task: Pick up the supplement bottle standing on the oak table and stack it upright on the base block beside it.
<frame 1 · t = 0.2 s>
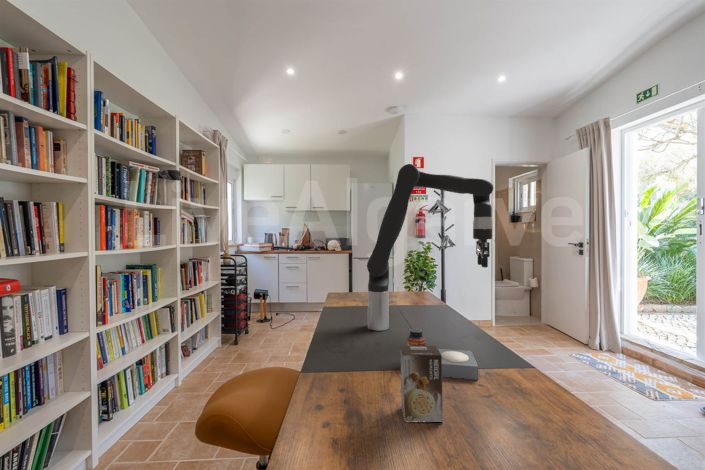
hand: (482, 266, 131), 29 cm above the table, tool pointing down, fingers open, 8 cm apart
base block: (454, 369, 99), on the table
coffee box: (421, 416, 75), on the table
supplement bottle: (416, 364, 104), on the table
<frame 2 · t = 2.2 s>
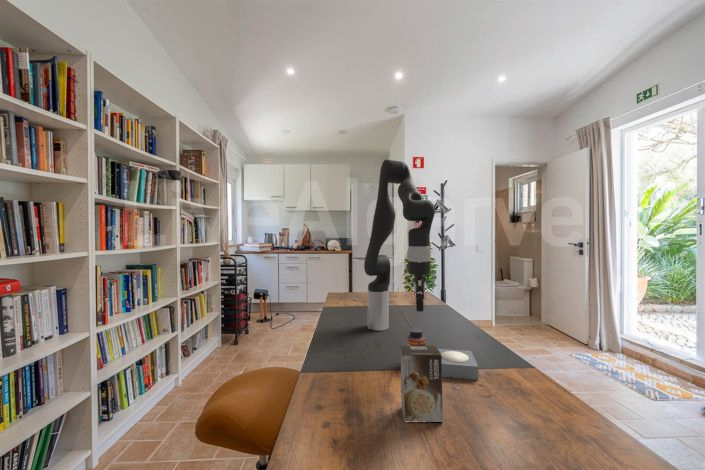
hand: (419, 307, 104), 19 cm above the table, tool pointing down, fingers open, 8 cm apart
nothing on the table moved.
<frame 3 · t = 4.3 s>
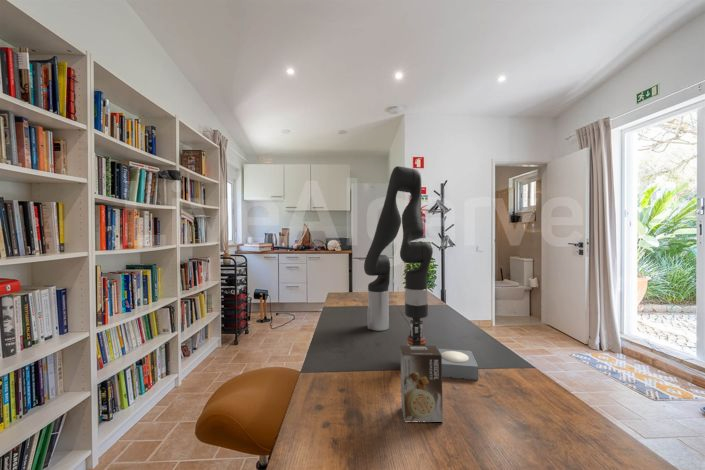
hand: (416, 351, 103), 4 cm above the table, tool pointing down, fingers closed on supplement bottle, 6 cm apart
supplement bottle: (416, 364, 104), on the table, touching gripper
everything else where it was.
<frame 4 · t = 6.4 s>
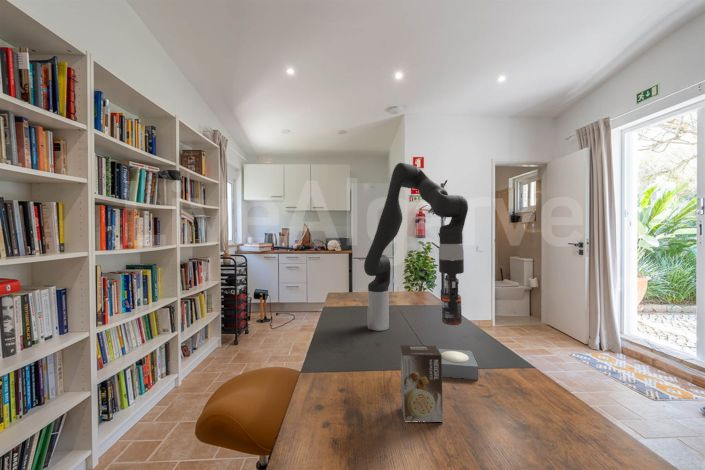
hand: (451, 310, 99), 19 cm above the table, tool pointing down, fingers closed on supplement bottle, 6 cm apart
supplement bottle: (451, 323, 99), point 15 cm above the table, touching gripper
everything else where it was.
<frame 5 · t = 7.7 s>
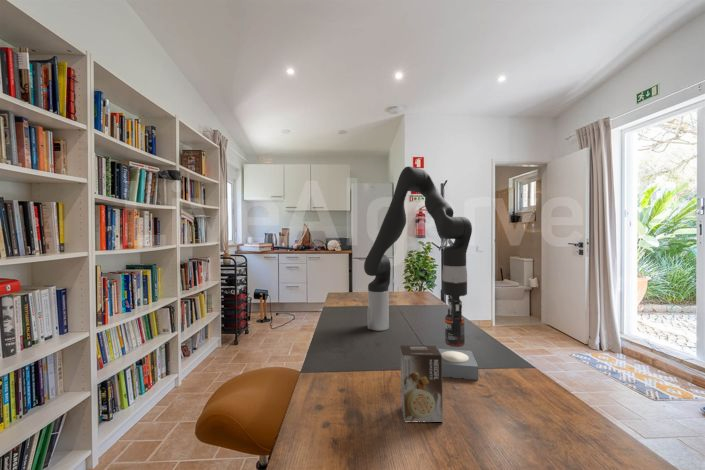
hand: (454, 331, 99), 12 cm above the table, tool pointing down, fingers closed on supplement bottle, 6 cm apart
supplement bottle: (454, 344, 99), point 8 cm above the table, touching gripper
everything else where it was.
when the fingers open (9 cm above the table, at t = 8.8 s): supplement bottle stays where it is, resting on base block.
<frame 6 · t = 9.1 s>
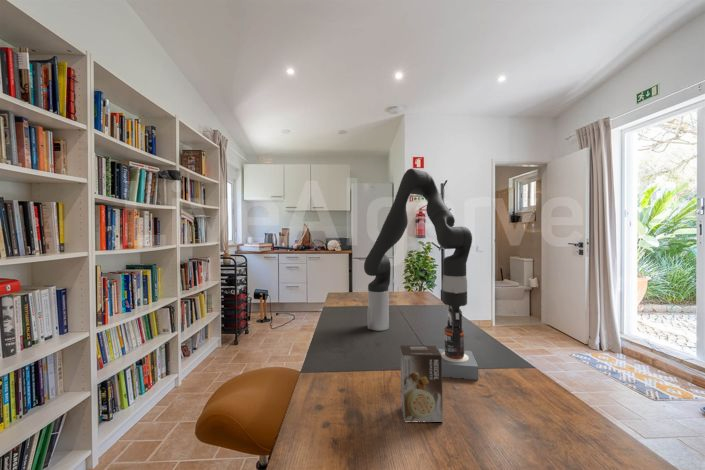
hand: (454, 339, 99), 10 cm above the table, tool pointing down, fingers open, 8 cm apart
supplement bottle: (454, 356, 99), point 4 cm above the table, touching base block
everything else where it was.
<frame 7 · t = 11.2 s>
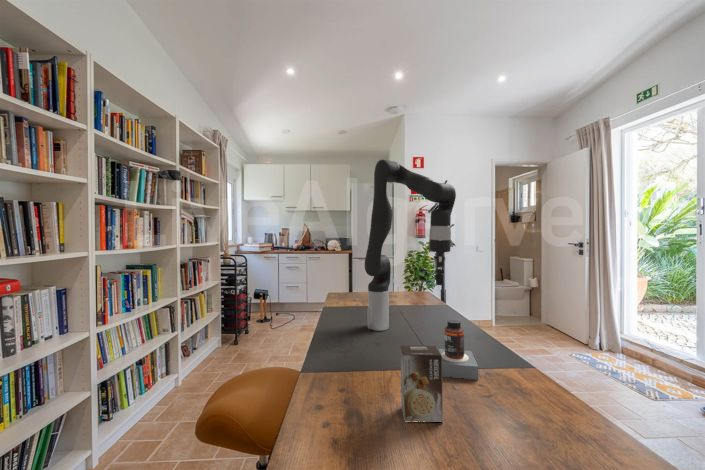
hand: (438, 282, 113), 25 cm above the table, tool pointing down, fingers open, 8 cm apart
nothing on the table moved.
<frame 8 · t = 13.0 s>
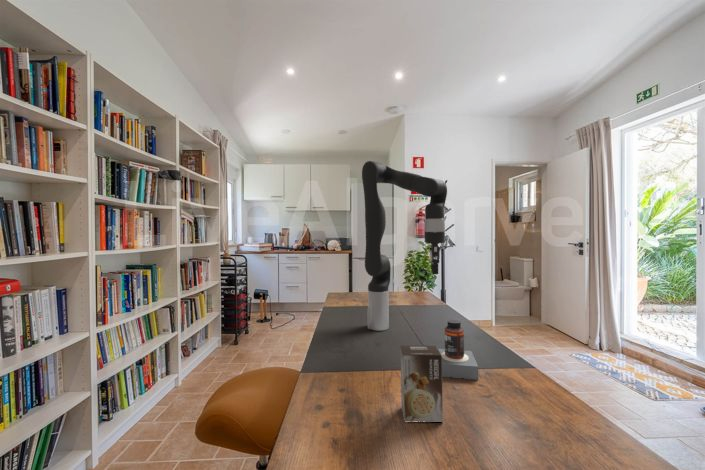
hand: (434, 272, 120), 28 cm above the table, tool pointing down, fingers open, 8 cm apart
nothing on the table moved.
at the end: supplement bottle inside the target area on the base block (0.3 cm from its centre), point 4.0 cm above the base block's base; supplement bottle tilted 0°; the gripper is holding nothing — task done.
